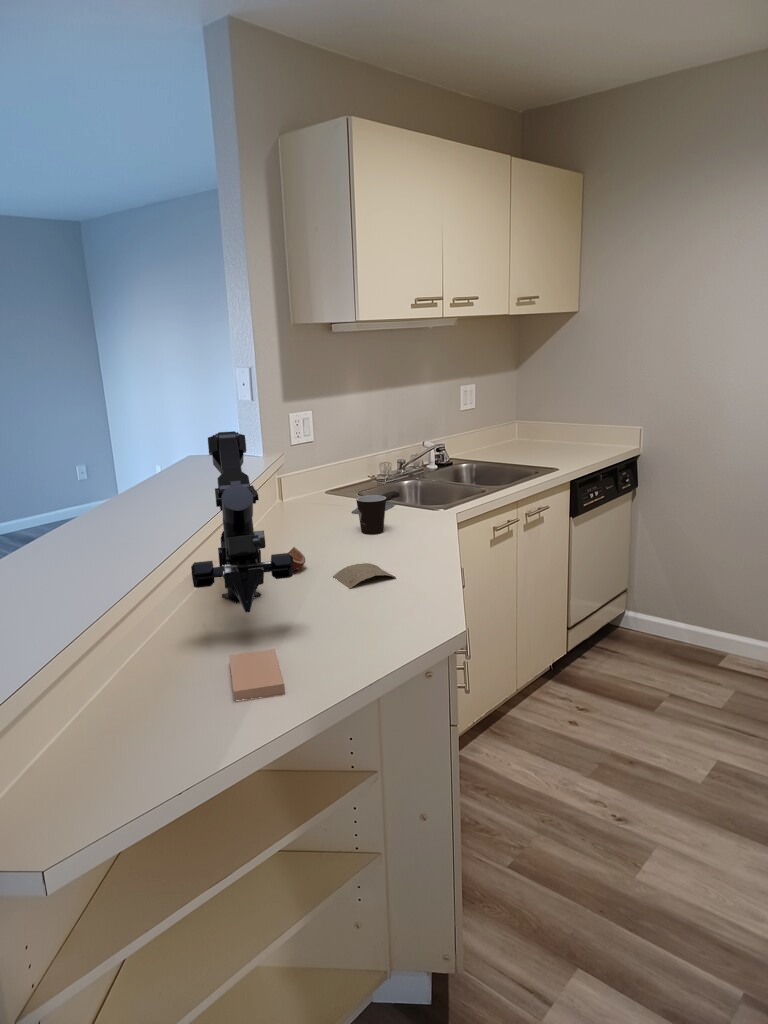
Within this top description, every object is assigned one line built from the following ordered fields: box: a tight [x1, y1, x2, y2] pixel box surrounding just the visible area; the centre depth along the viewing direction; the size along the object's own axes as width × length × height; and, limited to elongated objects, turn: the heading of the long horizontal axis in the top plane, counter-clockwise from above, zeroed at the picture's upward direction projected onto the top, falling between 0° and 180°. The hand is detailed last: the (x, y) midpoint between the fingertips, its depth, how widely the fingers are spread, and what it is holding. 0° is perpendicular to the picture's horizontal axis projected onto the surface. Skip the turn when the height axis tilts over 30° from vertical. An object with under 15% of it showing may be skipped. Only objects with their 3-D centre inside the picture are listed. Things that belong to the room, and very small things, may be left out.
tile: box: [228, 648, 286, 701], centre depth 122 cm, size 2×8×14 cm
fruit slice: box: [287, 546, 306, 572], centre depth 178 cm, size 8×7×5 cm
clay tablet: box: [332, 562, 397, 590], centre depth 171 cm, size 14×10×3 cm
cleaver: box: [351, 490, 400, 515], centre depth 244 cm, size 29×10×2 cm, turn 156°
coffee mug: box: [355, 494, 387, 536], centre depth 211 cm, size 12×9×10 cm
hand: (247, 611), depth 133 cm, fingers closed
